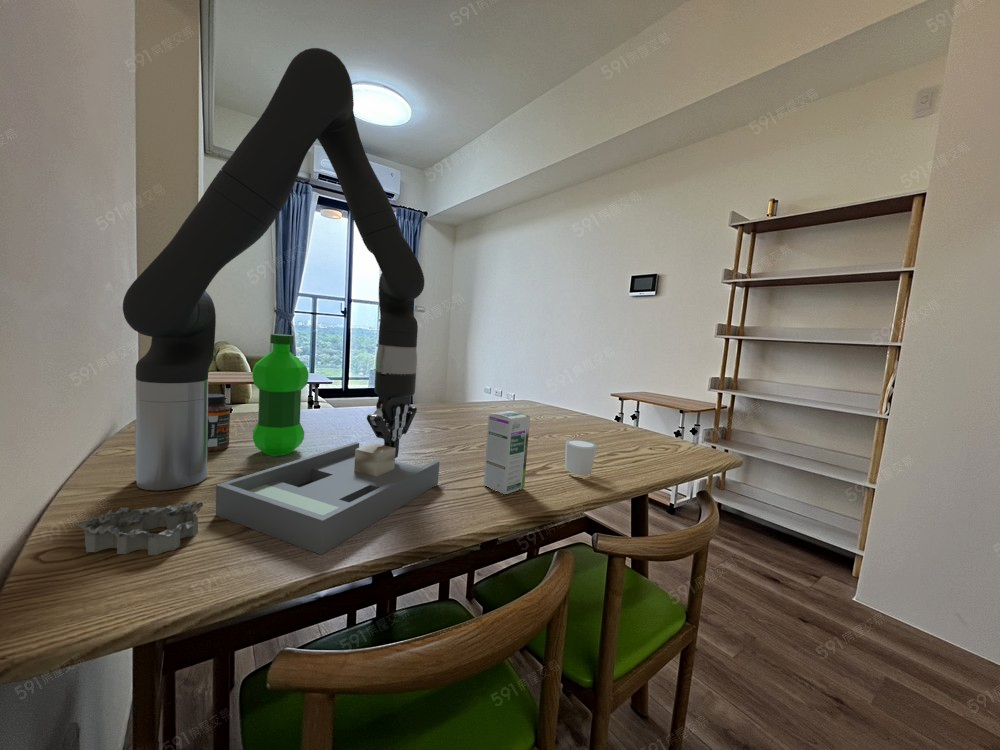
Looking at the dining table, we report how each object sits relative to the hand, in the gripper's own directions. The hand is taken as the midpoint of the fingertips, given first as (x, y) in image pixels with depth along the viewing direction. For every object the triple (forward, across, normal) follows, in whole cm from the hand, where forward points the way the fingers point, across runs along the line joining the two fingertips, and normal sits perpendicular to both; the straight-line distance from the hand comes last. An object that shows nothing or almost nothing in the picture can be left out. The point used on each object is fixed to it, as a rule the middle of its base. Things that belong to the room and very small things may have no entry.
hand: (390, 457), depth 79 cm
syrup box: (+4, -7, +21) cm, 23 cm away
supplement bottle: (+4, +9, -39) cm, 40 cm away
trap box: (+3, +13, 0) cm, 13 cm away
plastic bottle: (+4, +3, -27) cm, 27 cm away
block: (+1, +5, 0) cm, 5 cm away
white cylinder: (+4, -24, +32) cm, 40 cm away
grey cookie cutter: (+4, +35, -11) cm, 37 cm away
